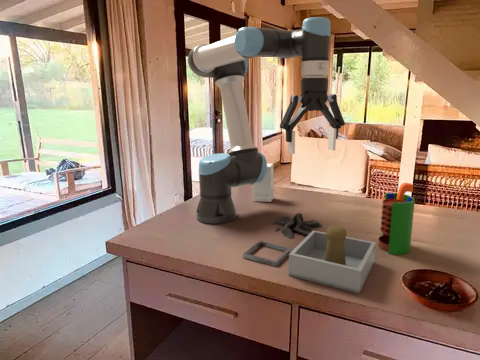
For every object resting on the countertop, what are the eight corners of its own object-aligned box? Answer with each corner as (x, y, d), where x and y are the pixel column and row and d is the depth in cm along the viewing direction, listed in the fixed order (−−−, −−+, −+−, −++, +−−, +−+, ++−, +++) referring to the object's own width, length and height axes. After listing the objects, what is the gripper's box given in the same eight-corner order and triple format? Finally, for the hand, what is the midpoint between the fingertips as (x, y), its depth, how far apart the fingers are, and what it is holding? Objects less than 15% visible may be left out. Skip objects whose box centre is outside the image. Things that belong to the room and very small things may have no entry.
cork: (336, 258, 102) (338, 221, 99) (350, 268, 96) (353, 229, 93) (318, 263, 99) (320, 225, 96) (332, 273, 94) (334, 233, 91)
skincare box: (274, 198, 159) (274, 163, 155) (270, 202, 153) (271, 166, 149) (255, 196, 161) (255, 162, 157) (251, 201, 155) (251, 165, 151)
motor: (371, 240, 115) (377, 179, 110) (399, 239, 115) (405, 178, 110) (387, 255, 105) (393, 188, 100) (416, 253, 106) (424, 187, 100)
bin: (288, 275, 95) (289, 254, 93) (312, 248, 110) (312, 230, 108) (359, 294, 86) (360, 271, 84) (374, 262, 101) (376, 242, 99)
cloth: (272, 218, 137) (272, 202, 135) (322, 220, 134) (323, 205, 132) (265, 242, 116) (265, 224, 114) (324, 246, 112) (325, 228, 111)
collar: (243, 257, 105) (242, 254, 104) (260, 244, 113) (260, 240, 113) (276, 266, 99) (276, 262, 99) (291, 251, 108) (291, 247, 108)
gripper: (280, 77, 95) (279, 156, 101) (360, 76, 103) (355, 150, 109) (268, 77, 102) (268, 152, 107) (344, 77, 110) (340, 146, 115)
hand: (311, 151), depth 108 cm, fingers open, 13 cm apart
